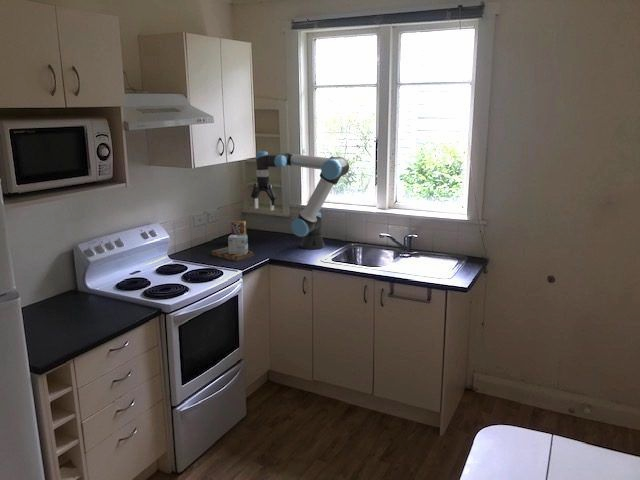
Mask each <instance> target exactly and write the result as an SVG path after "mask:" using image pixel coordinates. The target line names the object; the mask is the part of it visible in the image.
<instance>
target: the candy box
mask: <svg viewBox="0 0 640 480" xmlns="http://www.w3.org/2000/svg"><path fill="white" fill-rule="evenodd" d="M230 225H231V235H247V223H246V220H231V222H230Z"/></svg>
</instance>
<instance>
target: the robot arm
mask: <svg viewBox="0 0 640 480" xmlns="http://www.w3.org/2000/svg"><path fill="white" fill-rule="evenodd" d="M255 162H256V166H255V167H256V176H257V177H256V182H255V183H253V188H252V192H251V196H250V197H251V198H252V199H253V203H254V209H255V210H256V209H259V198H258V197H259V195H260V193H261V192H265V193H266V194H267V196H268V197H269V199H270V200H269V206H270V211H275V204H276V202H275V201H276V200H277V199H278V196H277V194H276V191H275V189H274V185H273V184H272V183H271V184H269V182H270V177H269V176H270V175H269V172H270V171H269V170H270V169H269V168H278V169H280V168H285V167H286V166H290V167H299V168H305V169H306V168H307V169H315V170H320V174H319V178H320V179H319V180H318V182H317V184H316V187H315V188H314V190H313V192H312V194H311V196H310V198H309V200H308V202H307V203H306V205H305V206H304V207H305V208H304V209H303V210H301V211H299V213H298V215H297V217H296V218H295V219H294V220H293V221H291V225H290V227H291V231H292V233H293V234H294V235H295V236H297V237H301V242H300V247H301V248H302V249H306V250H318V249H319V250H320V249H323V248H325V242H324V240H323V236H322V235H323V234H322V213H321V212H320V210H321V208H322V207H323V205H324V203H325V202H326V200H327V198H328V196H329V194H330V192H331V190H332V188H333V186H335V185H337V184H338V183H339V181H340V179H341V177H343V176H345V175H346V174H348V172H349V169H350V164H349V161H348V160H347V158H345V157H342V156H330V157H322V156H312V155H306V154H305V155H304V154H297V153H291V152H284V153H280V154H269V152H268V151H263V150H262V151H257V152H255Z"/></svg>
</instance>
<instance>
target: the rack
mask: <svg viewBox="0 0 640 480" xmlns="http://www.w3.org/2000/svg"><path fill="white" fill-rule="evenodd" d="M255 253H256V252H254V251H250V250H248V252H247V254H229V245H227V246H225V247H221V248H216V249H213V250H210V255H211V256H213V257H214V256H215V257H219V258H222V259H225V260H228V261H229V260H230V261H232V262H239V261H242V260H246V259H250V258H254V257H255V255H256V254H255Z"/></svg>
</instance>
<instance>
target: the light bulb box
mask: <svg viewBox="0 0 640 480" xmlns="http://www.w3.org/2000/svg"><path fill="white" fill-rule="evenodd" d="M227 239H228V240H227V242H228V245H227V246H229V254H247V252H248V251H249V243H248V241H249V239H248V234H246V235H232V234H230V235H229V236H228V237H227Z"/></svg>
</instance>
